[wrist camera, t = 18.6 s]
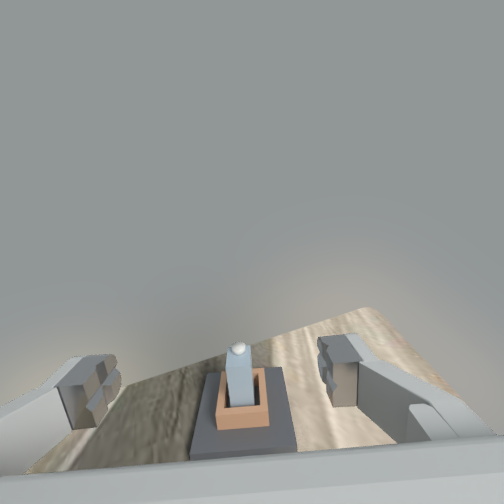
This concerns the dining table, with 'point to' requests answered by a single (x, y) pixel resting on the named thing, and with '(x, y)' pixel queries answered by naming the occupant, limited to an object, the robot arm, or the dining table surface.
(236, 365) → the light blue tall block
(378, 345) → the dining table surface
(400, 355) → the dining table surface
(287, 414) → the plate
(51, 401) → the robot arm
